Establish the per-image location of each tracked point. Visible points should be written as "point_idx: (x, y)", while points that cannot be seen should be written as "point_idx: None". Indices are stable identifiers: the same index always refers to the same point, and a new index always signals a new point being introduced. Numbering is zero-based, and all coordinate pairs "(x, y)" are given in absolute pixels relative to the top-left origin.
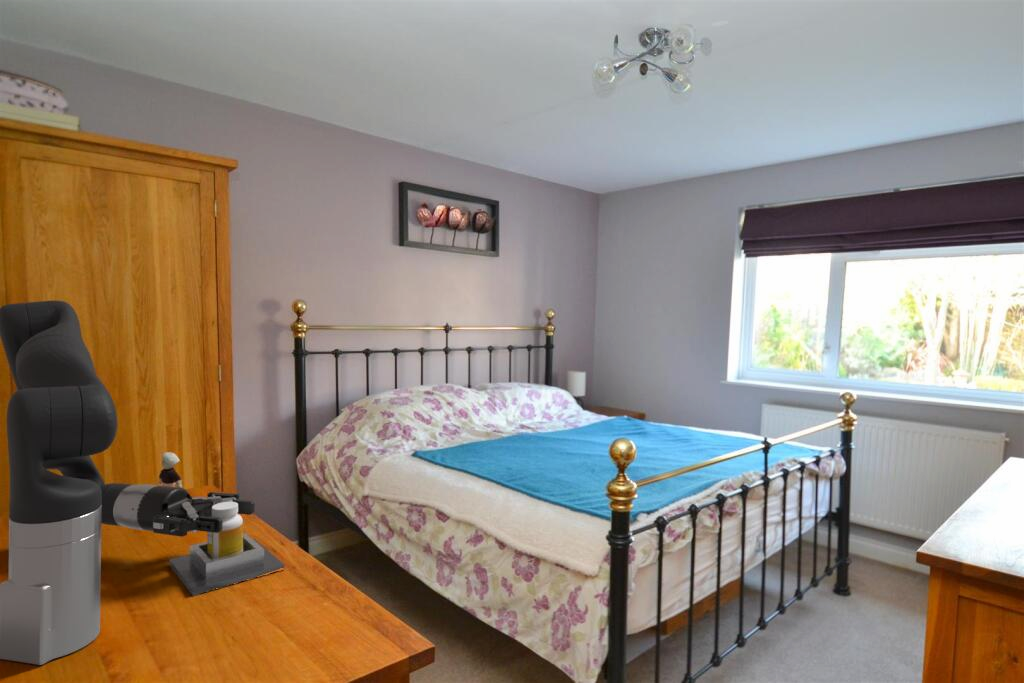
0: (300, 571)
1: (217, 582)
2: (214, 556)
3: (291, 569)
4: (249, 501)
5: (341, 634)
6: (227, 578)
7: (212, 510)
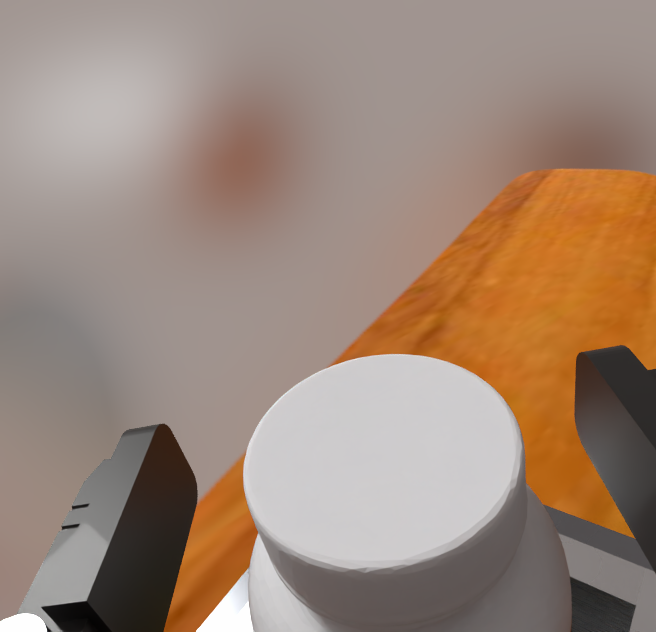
0: None
1: None
2: None
3: None
4: (125, 448)
5: (573, 220)
6: (587, 540)
7: (516, 506)
